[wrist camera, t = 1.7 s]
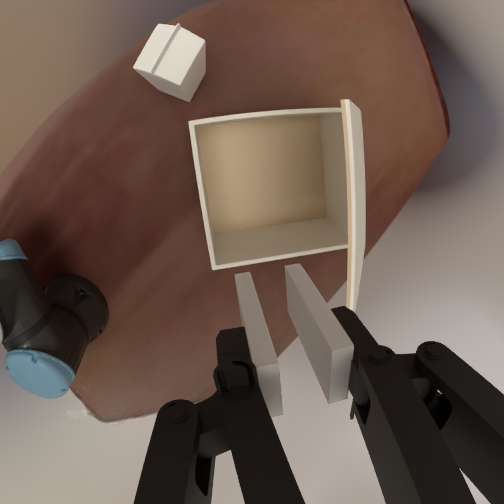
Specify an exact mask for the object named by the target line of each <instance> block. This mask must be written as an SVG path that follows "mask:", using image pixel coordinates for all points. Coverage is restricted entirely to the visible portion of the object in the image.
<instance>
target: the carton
mask: <svg viewBox="0 0 504 504" xmlns="http://www.w3.org/2000/svg"><path fill="white" fill-rule="evenodd" d="M188 122H189V129H190V136H191V144H192V151H193V157H194V164H195V171H196V177H197V184H198V190H199V196H200V203H201V209H202V215H203V221H204V226H205V232H206V238H207V244H208V249H209V255H210V260H211V266H212V270H217V269H223V268H229V267H236V266H242V265H248V264H254V263H260V262H266V261H272V260H278V259H284V258H290V257H296V256H302V255H308V254H314V253H320V252H326V251H332V250H337V249H343V248H348V206H347V178H346V159H345V144H344V131H343V120H342V109H341V108H309V109H290V110H275V111H263V112H253V113H243V114H235V115H227V116H219V117H212V118H205V119H199V120H193V121H188Z"/></svg>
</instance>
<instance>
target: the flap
mask: <svg viewBox="0 0 504 504" xmlns="http://www.w3.org/2000/svg"><path fill="white" fill-rule="evenodd" d="M341 109H342V120H343V131H344V144H345V159H346V178H347V206H348V275H347V303H346V304H347V305H346V307H347V308H349V309H350V310H352V311H354V313H355V309H356V304H357V297H358V291H359V285H360V279H361V271H362V264H363V257H364V249H365V221H366V209H365V167H364V147H363V132H362V119H361V110H360V109H359V108H358V107H357V106H355V105H354V104H353V103H352V102H351V101H350V100H349V99H348V100H341Z"/></svg>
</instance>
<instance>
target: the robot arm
mask: <svg viewBox="0 0 504 504" xmlns="http://www.w3.org/2000/svg"><path fill="white" fill-rule="evenodd" d="M234 275H235V282H236V288H237V294H238V300H239V307H240V313H241V319H242V324H243V327H238V328H232V329H226V330H220V332H219V334H218V336H217V338H216V347H217V360H218V365H217V367H216V368H215V370H214V374H213V378H214V381H215V385H216V388H217V391H216V392H215V393H214V395H212V396H211V397H210V398H208V399H206V400H204V401H202V402H199V403H196V404H194V403H192V402H190V401H189V400H183V399H179V400H173V401H170V402H168V403H166V404H165V405H164V406H162V407H161V408H160V410H159V412H158V414H157V418H156V421H155V425H154V428H153V432H152V435H151V439H150V443H149V446H148V450H147V454H146V457H145V461H144V465H143V469H142V472H141V477H140V480H139V484H138V488H137V492H136V496H135V500H134V504H211V498H212V487H213V477H214V468H215V458H216V456H217V455H219V454H222V453H224V452H226V451H229V450H231V452H232V456H233V460H234V464H235V468H236V472H237V475H238V479H239V483H240V487H241V491H242V494H243V498H244V502H245V504H305V502H304V500H303V497H302V495H301V492H300V490H299V487H298V485H297V482H296V480H295V478H294V475H293V473H292V470H291V468H290V465H289V463H288V460H287V457H286V455H285V453H284V450H283V447H282V445H281V442H280V440H279V437H278V434H277V432H276V429H275V427H274V424H273V421H272V419H271V417H274V416H279V415H283V409H282V397H281V385H280V373H279V363H278V360H277V356H276V353H275V350H274V347H273V344H272V341H271V338H270V334H269V331H268V328H267V325H266V322H265V318H264V315H263V312H262V309H261V306H260V303H259V299H258V296H257V293H256V290H255V287H254V283H253V280H252V277H251V274H250V272H246V273H239V274H234ZM285 276H286V289H287V303H288V313H289V315H290V318H291V320H292V322H293V324H294V327H295V329H296V331H297V333H298V336H299V338H300V340H301V342H302V344H303V347H304V349H305V351H306V354H307V356H308V358H309V360H310V363H311V365H312V367H313V370H314V372H315V374H316V376H317V378H318V381H319V383H320V385H321V387H322V390H323V392H324V395H325V397H326V399H327V402H328V403H329V404H330V403H333V402H337V401H341V400H344V399H347V398H348V391H349V390H350V392H351V394H352V396H353V402H352V407H351V413H350V419H353V418H354V413H355V416H356V418H357V421H358V424H359V426H360V429H361V432H362V435H363V438H364V440H365V443H366V446H367V449H368V452H369V455H370V458H371V461H372V463H373V466H374V469H375V472H376V475H377V478H378V481H379V484H380V487H381V490H382V493H383V496H384V499H385V502H386V504H476V502H475V500H474V498H473V496H472V494H471V492H470V490H469V488H468V485H467V483H466V481H465V479H464V477H463V475H462V473H461V471H460V469H461V470H462V471H463V473H464V474H465V475H466V476H467V477H468V478H469V479H470V480H471V482H472V483H473V484H474V485H475V486H476V487H477V488H478V489H479V491H480V492H481V493H482V494H483V495H484V496H485V497H486V499H487V500H488V501H489V502H490V503H491V504H504V394H502V393H501V392H500V391H499V390H498V389H497V388H495V387H494V386H493V385H492V384H491V383H490V382H488V381H487V380H486V379H485V378H484V377H483V376H481V375H480V374H479V373H478V372H477V371H475V370H474V369H473V368H472V367H471V366H469V365H468V364H467V363H466V362H465V361H463V360H462V359H461V358H460V357H458V356H457V355H456V354H455V353H454V352H452V351H451V350H450V349H449V348H447V347H446V346H445V345H443V344H441V343H439V342H435V341H428V342H424V343H422V344H421V345H420V346H418V348H417V351H416V353H413V354H395V353H394V352H393V351H392V350H391V349H390V348H388V347H386V346H382V345H378V343H377V342H376V341H375V339H374V338H373V337H372V335H371V334H370V333H369V331H368V330H367V329H366V327H365V326H363V323H362V322H361V321H360V320H359V318H358V317H357V315H356V314H355V313H354V311H352V310H350V309H349V308H347V307H345V306H342V307H337V308H333V309H330V308H329V306H328V305H327V303H326V302H325V300H324V299H323V297H322V296H321V294H320V293H319V291H318V290H317V288H316V287H315V285H314V284H313V282H312V281H311V279H310V278H309V276H308V275H307V274H306V272H305V271H304V269H303V268H302V266H301V265H300V263H299V264H293V265H287V266H285ZM107 321H108V307H107V303H106V301H105V299H104V297H103V295H102V294H101V292H100V291H99V290H98V289H97V288H96V287H95V286H94V285H93V284H92V283H91V282H89V281H88V280H86V279H84V278H82V277H79V276H76V275H69V274H67V275H61V276H58V277H56V278H55V279H54V280H52V281H51V283H50V284H49V285H48V286H47V287H46V289H45V291H43V289H42V287H41V286H40V284H39V282H38V280H37V278H36V276H35V274H34V272H33V270H32V268H31V266H30V264H29V262H28V258H27V257H26V256H25V255H24V253H23V251H22V249H21V247H20V245H19V244H18V242H17V241H15V240H13V239H6V240H3V241H1V242H0V344H1V343H2V344H3V345H4V347H5V349H6V350H7V351H8V353H7V354H6V359H5V364H6V370H7V372H8V374H9V375H10V377H11V378H12V379H13V380H14V381H15V382H16V383H17V384H18V385H19V386H20V387H22V388H23V389H25V390H27V391H28V392H30V393H32V394H35V395H37V396H40V397H44V398H58V397H61V396H63V395H64V394H65V393H66V392H67V391H68V389H69V387H70V385H71V384H72V382H73V381H74V379H75V375H76V372H77V370H78V367H79V365H80V362H81V360H82V357H83V355H84V353H85V350H86V348H87V346H88V345H89V344H90V343H91V342H92V341H94V340H95V339H96V338H97V337H99V336H100V335H101V333H102V332H103V330H104V328H105V326H106V324H107ZM437 390H439V391H440V392H441V393H442V394H441V393H439V392H438V391H437ZM459 468H460V469H459Z"/></svg>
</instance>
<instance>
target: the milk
mask: <svg viewBox="0 0 504 504" xmlns="http://www.w3.org/2000/svg"><path fill="white" fill-rule="evenodd" d="M133 68H134V69H135V70H136V71H137V72H138V73H139V74H141V75H142V76H143V77H144V78H145V79H146V80H148V81H149V82H150V83H151V84H152V85H153V86H154V87H156V88H157V89H158V90H160V91H162V92H165V93H167V94H170V95H172V96H175V97H177V98H180V99H182V100H184V101H187V102H190V101H191V99H192V97H193V95H194V93H195V92H196V90H197V88H198V86H199V84H200V82H201V80H202V79H203V77H204V75H205V73H206V60H205V40H203V39H202V38H200V37H198V36H196V35H195V34H193V33H191V32H189V31H187V30H186V29H184V28H182V27H181V26H180V23H178V24H177V25H176V26H172V25H165V24H158V25H157V27H156V28H155V30H154V31H153V33H152V35H151V36H150V38H149V40H148V41H147V43H146V45H145V47H144V48H143V50H142V52H141V54H140V56H139V57H138V59H137V61H136V63H135V65H134V67H133Z"/></svg>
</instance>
